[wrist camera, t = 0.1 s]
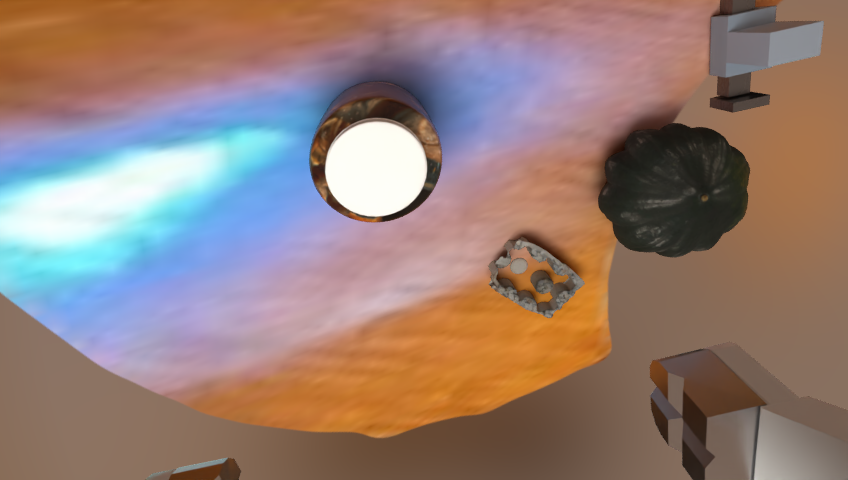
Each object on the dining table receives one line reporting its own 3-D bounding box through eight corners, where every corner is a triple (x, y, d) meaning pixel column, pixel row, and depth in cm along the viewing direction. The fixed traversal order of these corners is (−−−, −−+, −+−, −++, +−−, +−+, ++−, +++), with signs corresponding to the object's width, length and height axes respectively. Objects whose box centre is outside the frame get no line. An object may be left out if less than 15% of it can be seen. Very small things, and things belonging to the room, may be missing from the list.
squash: (720, 263, 59) (810, 218, 45) (595, 277, 59) (646, 236, 45) (688, 157, 64) (760, 85, 49) (572, 169, 63) (611, 101, 49)
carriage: (710, 17, 53) (771, 15, 45) (756, 7, 53) (825, 2, 45) (708, 75, 55) (766, 83, 47) (752, 65, 55) (818, 71, 47)
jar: (394, 204, 58) (400, 258, 44) (303, 153, 55) (279, 195, 41) (448, 116, 55) (474, 145, 41) (355, 57, 52) (348, 67, 38)
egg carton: (478, 270, 63) (485, 286, 59) (517, 225, 61) (526, 238, 57) (539, 312, 66) (549, 329, 62) (578, 270, 64) (590, 285, 60)
